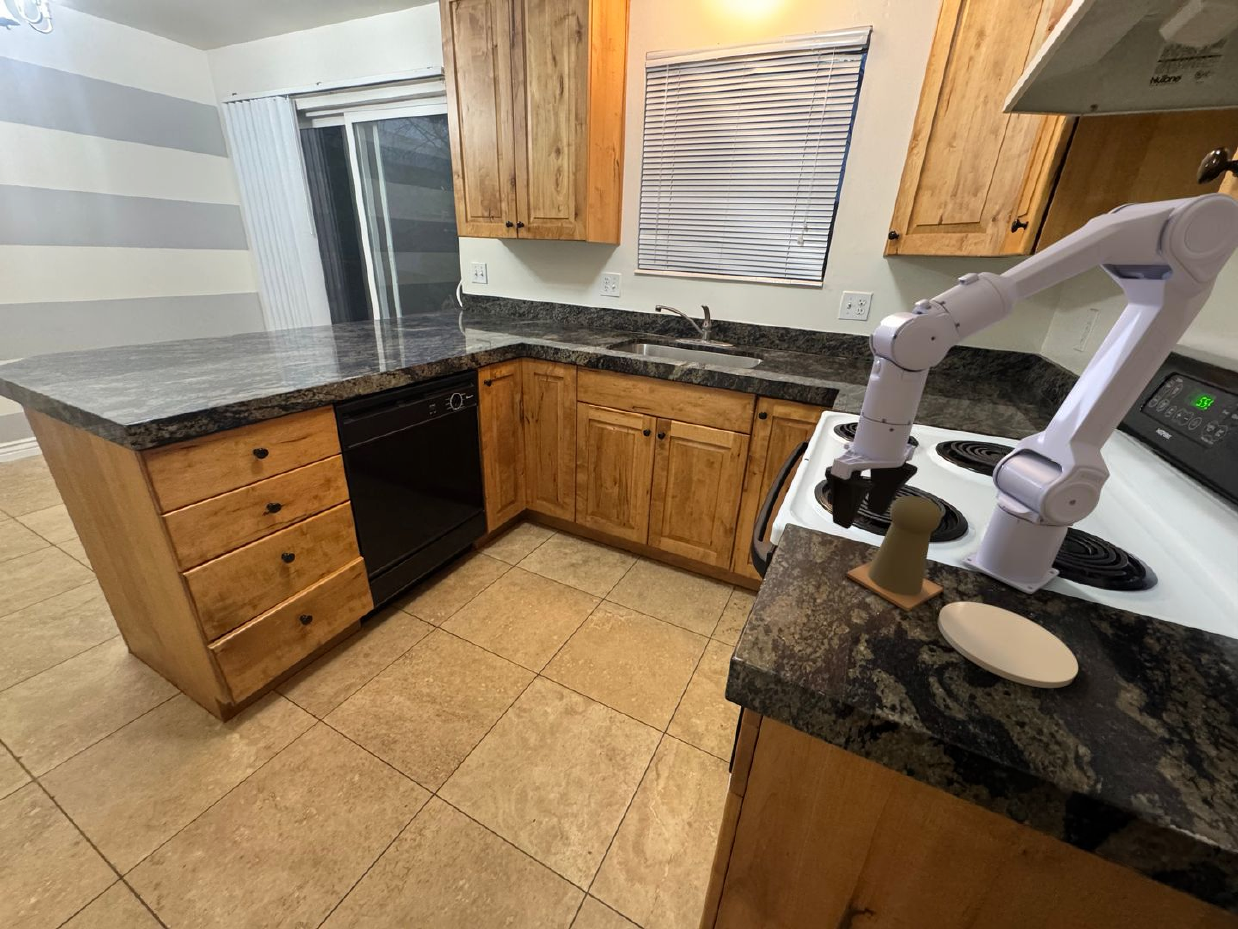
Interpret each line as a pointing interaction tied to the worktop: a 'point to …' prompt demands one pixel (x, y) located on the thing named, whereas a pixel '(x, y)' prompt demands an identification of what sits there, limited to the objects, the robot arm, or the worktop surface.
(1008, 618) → the plate
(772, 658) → the worktop surface
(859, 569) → the cork trivet
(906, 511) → the pepper shaker
